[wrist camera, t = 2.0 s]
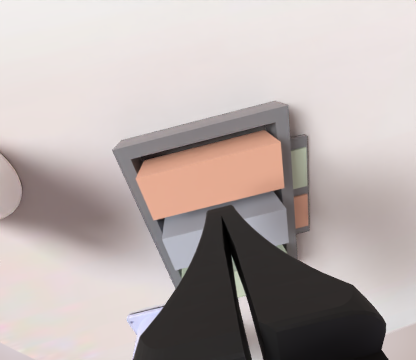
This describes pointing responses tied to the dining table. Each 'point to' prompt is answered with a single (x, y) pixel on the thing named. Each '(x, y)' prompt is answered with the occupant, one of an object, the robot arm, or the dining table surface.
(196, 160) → the key terracotta
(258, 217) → the key slate
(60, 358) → the dining table surface
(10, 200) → the mug
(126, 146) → the keypad frame
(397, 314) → the dining table surface
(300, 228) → the strip
